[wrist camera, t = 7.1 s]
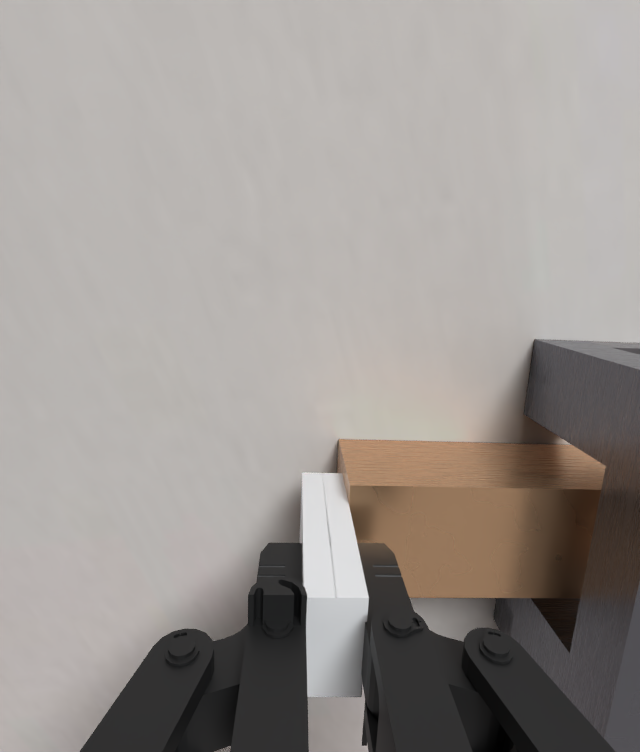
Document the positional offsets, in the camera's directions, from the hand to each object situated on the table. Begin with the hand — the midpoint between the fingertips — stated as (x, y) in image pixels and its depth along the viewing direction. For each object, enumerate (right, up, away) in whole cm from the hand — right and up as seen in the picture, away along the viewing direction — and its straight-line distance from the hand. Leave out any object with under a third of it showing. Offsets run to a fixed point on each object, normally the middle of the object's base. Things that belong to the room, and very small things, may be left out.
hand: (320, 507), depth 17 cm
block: (+9, 0, +2) cm, 9 cm away
